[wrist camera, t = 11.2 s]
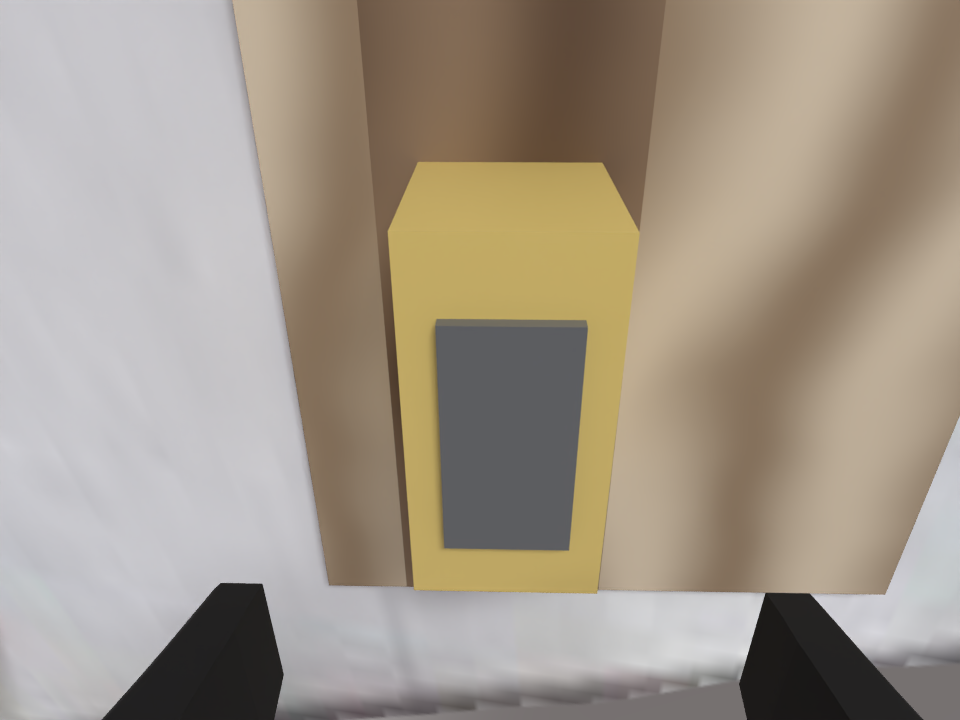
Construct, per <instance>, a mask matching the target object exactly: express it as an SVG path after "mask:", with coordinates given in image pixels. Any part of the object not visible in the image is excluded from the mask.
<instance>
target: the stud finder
mask: <svg viewBox="0 0 960 720" xmlns="http://www.w3.org/2000/svg"><path fill="white" fill-rule="evenodd" d="M639 235H640V232H639V231H638V229H637V227H636V225H635V223H634V221H633V219H632V217H631V215H630V214H629V212H628V210H627V208H626V206H625V204H624V202H623V200H622V199H621V197H620V195H619V193H618V191H617V189H616V187H615V185H614V183H613V182H612V180H611V178H610V176H609V174H608V172H607V170H606V168H605V167H604V165H603V163H556V162H418V163H417V165H416V168H415V170H414V172H413V175H412V177H411V179H410V181H409V184H408V186H407V188H406V191H405V193H404V195H403V197H402V200H401V202H400V204H399V207H398V209H397V211H396V214H395V216H394V218H393V220H392V223H391V225H390V227H389V230H388V242H389V256H390V270H391V283H392V297H393V310H394V324H395V337H396V351H397V365H398V378H399V392H400V405H401V419H402V433H403V446H404V460H405V473H406V487H407V501H408V514H409V528H410V541H411V555H412V569H413V582H414V590H436V591H488V592H541V593H594V594H597V590H598V581H599V573H600V565H601V556H602V548H603V539H604V531H605V522H606V514H607V505H608V497H609V488H610V480H611V472H612V463H613V455H614V446H615V438H616V429H617V421H618V412H619V404H620V396H621V387H622V379H623V370H624V362H625V353H626V345H627V336H628V328H629V319H630V311H631V303H632V294H633V286H634V277H635V269H636V260H637V252H638V243H639Z"/></svg>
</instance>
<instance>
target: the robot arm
mask: <svg viewBox="0 0 960 720" xmlns="http://www.w3.org/2000/svg"><path fill="white" fill-rule="evenodd" d="M283 675H284V674H283V669H282V665H281V661H280V657H279V652H278V648H277V644H276V640H275V635H274V631H273V627H272V623H271V618H270V614H269V610H268V606H267V601H266V597H265V593H264V589H263V584H245V583H220V584H219V585H218V586H217V587H216V588H215V589H214V590H213V591H212V592H211V594H210V595H209V596H208V597H207V598H206V600H205V601H204V602H203V603H202V604H201V606H200V607H199V608H198V609H197V610H196V612H195V613H194V614H193V615H192V616H191V618H190V619H189V620H188V621H187V622H186V624H185V625H184V626H183V627H182V628H181V630H180V631H179V632H178V633H177V634H176V635H175V637H174V638H173V639H172V640H171V641H170V643H169V644H168V645H167V646H166V647H165V648H164V650H163V651H162V652H161V653H160V654H159V655H158V657H157V658H156V659H155V660H154V661H153V662H152V664H151V665H150V666H149V667H148V668H147V669H146V671H145V672H144V673H143V674H142V675H141V676H140V677H139V679H138V680H137V681H136V682H135V683H134V684H133V685H132V686H131V688H130V689H129V690H128V691H127V692H126V693H125V694H124V695H123V696H122V698H121V699H120V700H119V701H118V702H117V703H116V704H115V705H114V707H113V708H112V709H111V710H110V711H109V712H108V713H107V714H106V716H105V717H104V718H103V719H102V720H274V718H275V713H276V708H277V704H278V699H279V694H280V690H281V685H282V680H283ZM739 685H740V690H741V695H742V699H743V703H744V708H745V712H746V716H747V720H923V719H922V718H921V717H920V716H919V715H918V714H917V712H916V711H914V709H913V708H912V707H911V706H910V705H909V704H908V703H907V702H906V701H905V699H904V698H902V696H901V695H900V694H899V693H898V692H897V691H896V690H895V689H894V687H893V686H892V685H891V684H890V683H889V682H888V681H887V680H886V678H885V677H883V675H882V674H881V673H880V672H879V671H878V670H877V668H876V667H875V666H874V665H873V664H872V663H871V662H870V661H869V660H868V658H867V657H866V656H865V655H864V654H863V653H862V652H861V651H860V649H859V648H858V647H857V646H856V645H855V644H854V643H853V641H852V640H851V639H850V638H849V637H848V636H847V635H846V634H845V632H844V631H843V630H842V629H841V628H840V627H839V626H838V624H837V623H836V622H835V621H834V620H833V619H832V618H831V617H830V615H829V614H828V613H827V612H826V611H825V610H824V609H823V608H822V606H821V605H820V604H819V603H818V602H817V601H816V600H815V599H814V598H813V597H812V596H811V594H810V593H766V594H765V597H764V600H763V604H762V607H761V611H760V614H759V618H758V621H757V624H756V628H755V631H754V635H753V638H752V642H751V645H750V649H749V652H748V655H747V659H746V662H745V666H744V669H743V673H742V676H741V679H740V683H739Z"/></svg>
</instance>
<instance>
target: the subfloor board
mask: <svg viewBox="0 0 960 720" xmlns="http://www.w3.org/2000/svg"><path fill="white" fill-rule="evenodd" d="M232 2H233V8H234V14H235V20H236V26H237V32H238V38H239V44H240V50H241V56H242V62H243V68H244V74H245V80H246V86H247V92H248V98H249V104H250V110H251V116H252V122H253V128H254V134H255V140H256V146H257V152H258V158H259V165H260V171H261V177H262V183H263V189H264V195H265V201H266V207H267V213H268V219H269V225H270V231H271V237H272V243H273V249H274V255H275V261H276V267H277V273H278V279H279V285H280V291H281V297H282V303H283V309H284V315H285V321H286V327H287V333H288V339H289V346H290V352H291V358H292V364H293V370H294V376H295V382H296V388H297V394H298V400H299V406H300V412H301V418H302V424H303V430H304V436H305V442H306V448H307V454H308V460H309V466H310V472H311V478H312V484H313V490H314V496H315V502H316V508H317V514H318V520H319V526H320V533H321V539H322V545H323V551H324V557H325V563H326V569H327V575H328V581H329V585H345V586H405V587H414V582H413V569H412V555H411V541H410V528H409V514H408V501H407V487H406V473H405V460H404V446H403V433H402V419H401V405H400V392H399V378H398V365H397V351H396V337H395V324H394V310H393V297H392V283H391V270H390V256H389V242H388V230H389V227H390V225H391V223H392V220H393V218H394V216H395V214H396V211H397V209H398V207H399V204H400V202H401V200H402V197H403V195H404V193H405V191H406V188H407V186H408V184H409V181H410V179H411V177H412V175H413V172H414V170H415V168H416V165H417V163H418V162H556V163H603V165H604V167H605V168H606V170H607V172H608V174H609V176H610V178H611V180H612V182H613V183H614V185H615V187H616V189H617V191H618V193H619V195H620V197H621V199H622V200H623V202H624V204H625V206H626V208H627V210H628V212H629V214H630V215H631V217H632V219H633V221H634V223H635V225H636V227H637V229H638V231H639V232H640V235H639V243H638V252H637V260H636V269H635V277H634V286H633V294H632V303H631V311H630V319H629V328H628V336H627V345H626V353H625V362H624V370H623V379H622V387H621V396H620V404H619V412H618V421H617V429H616V438H615V446H614V455H613V463H612V472H611V480H610V488H609V497H608V505H607V514H606V522H605V531H604V539H603V548H602V556H601V565H600V573H599V581H598V590H644V591H704V592H763V593H823V594H883V595H885V594H886V591H887V589H888V586H889V584H890V582H891V579H892V577H893V574H894V572H895V570H896V567H897V565H898V562H899V560H900V558H901V555H902V553H903V550H904V548H905V546H906V543H907V541H908V538H909V536H910V534H911V531H912V529H913V526H914V524H915V522H916V519H917V517H918V514H919V512H920V510H921V507H922V505H923V502H924V500H925V498H926V495H927V493H928V490H929V488H930V486H931V483H932V481H933V478H934V476H935V474H936V471H937V469H938V466H939V464H940V462H941V459H942V457H943V454H944V452H945V450H946V447H947V445H948V442H949V440H950V438H951V435H952V433H953V430H954V428H955V426H956V423H957V421H958V418H959V416H960V0H232Z"/></svg>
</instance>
